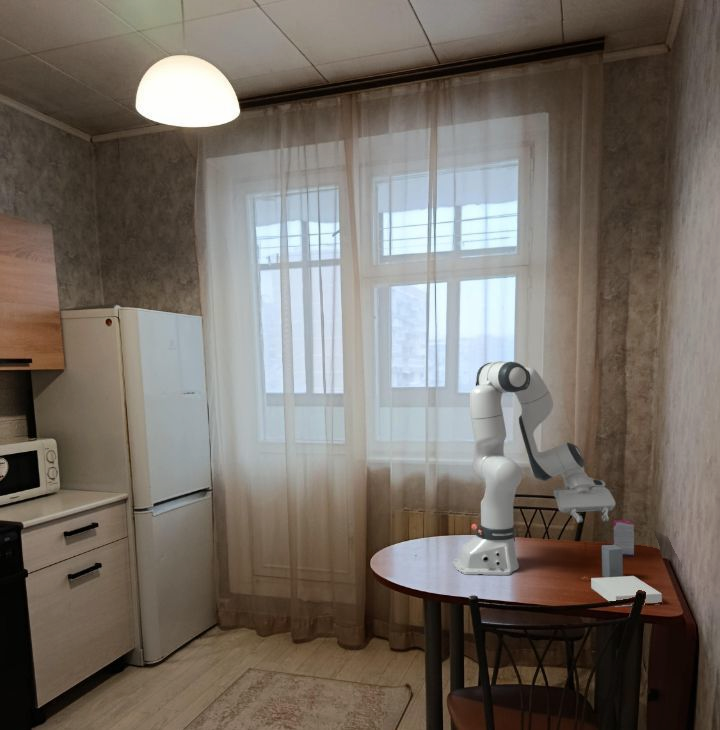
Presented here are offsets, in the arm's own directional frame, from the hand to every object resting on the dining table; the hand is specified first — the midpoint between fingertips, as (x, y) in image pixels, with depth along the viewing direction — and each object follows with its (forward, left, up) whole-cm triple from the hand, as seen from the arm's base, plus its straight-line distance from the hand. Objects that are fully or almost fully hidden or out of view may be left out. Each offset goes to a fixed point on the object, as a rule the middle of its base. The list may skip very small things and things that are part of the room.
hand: (593, 521), depth 193 cm
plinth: (-4, -26, -15) cm, 30 cm away
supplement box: (+17, +10, -16) cm, 25 cm away
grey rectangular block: (0, -12, -15) cm, 19 cm away
